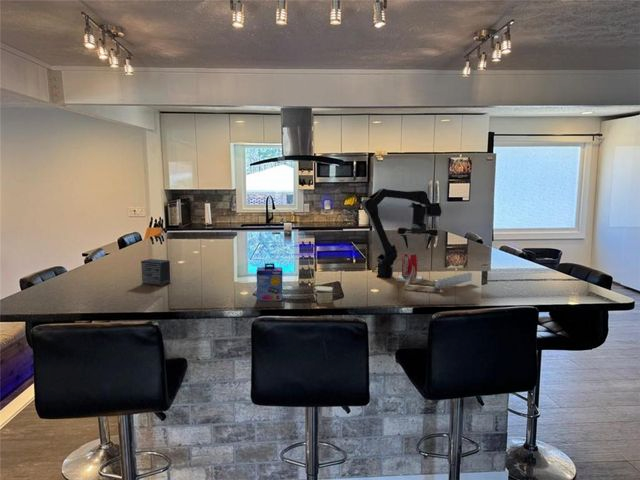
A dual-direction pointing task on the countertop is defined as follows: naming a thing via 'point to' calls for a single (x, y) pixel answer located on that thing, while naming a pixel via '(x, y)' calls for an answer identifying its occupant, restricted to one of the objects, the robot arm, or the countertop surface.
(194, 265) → the countertop surface
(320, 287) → the stacked layers on plate
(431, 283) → the frame
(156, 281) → the small box
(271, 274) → the ink cartridge box
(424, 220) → the robot arm
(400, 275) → the pad
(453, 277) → the latch bar
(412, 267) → the soda can
